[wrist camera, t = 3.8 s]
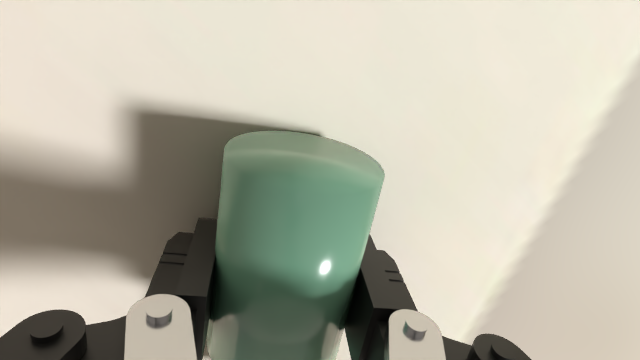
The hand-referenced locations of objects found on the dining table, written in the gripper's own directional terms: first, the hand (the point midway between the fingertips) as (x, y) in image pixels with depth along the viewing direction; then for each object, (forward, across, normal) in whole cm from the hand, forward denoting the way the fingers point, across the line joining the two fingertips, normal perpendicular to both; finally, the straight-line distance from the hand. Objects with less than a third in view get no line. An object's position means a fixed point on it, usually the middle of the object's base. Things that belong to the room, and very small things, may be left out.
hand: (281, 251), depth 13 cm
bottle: (-1, 0, +1) cm, 2 cm away
